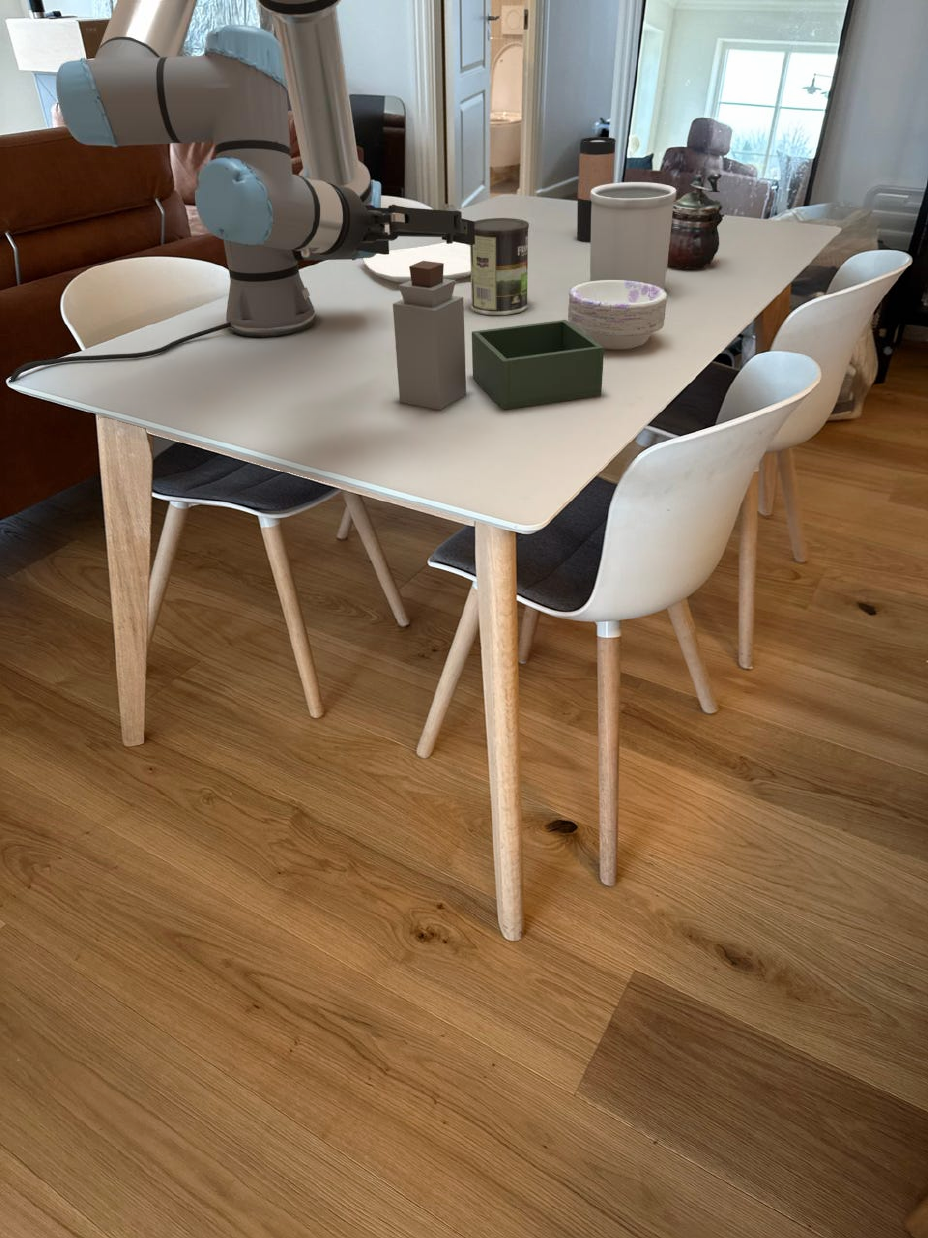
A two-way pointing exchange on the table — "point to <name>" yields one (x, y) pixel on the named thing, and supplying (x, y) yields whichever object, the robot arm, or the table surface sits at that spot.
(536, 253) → the table surface
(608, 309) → the paper bowls
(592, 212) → the utensil holder
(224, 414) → the table surface
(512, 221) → the coffee can
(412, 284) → the perfume bottle
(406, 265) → the plate
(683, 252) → the coffee grinder
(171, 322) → the table surface
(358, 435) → the table surface
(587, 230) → the travel mug
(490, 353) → the tote
